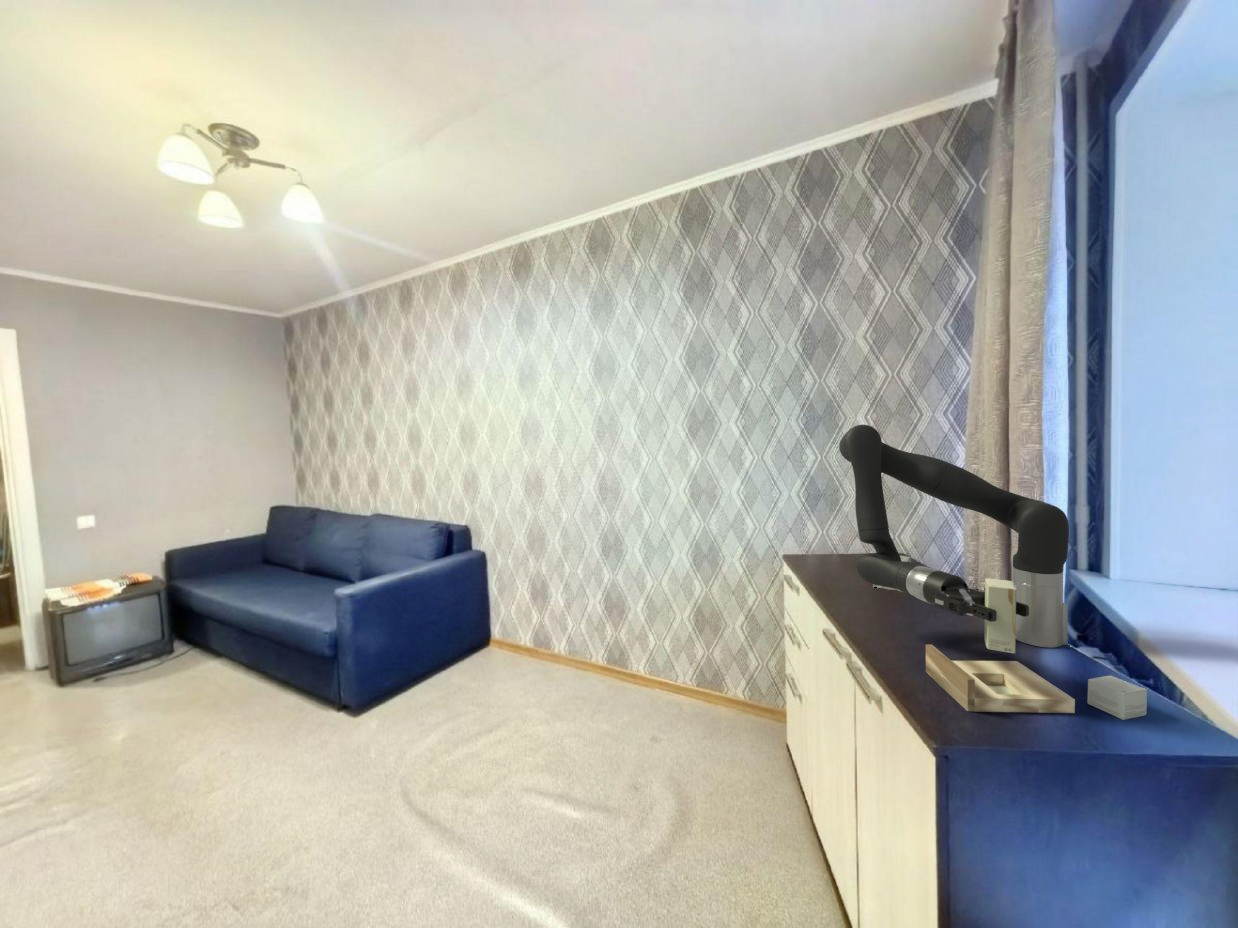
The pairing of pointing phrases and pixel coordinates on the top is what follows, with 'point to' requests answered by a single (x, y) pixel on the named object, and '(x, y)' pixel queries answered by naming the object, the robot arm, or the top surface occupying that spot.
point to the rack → (996, 685)
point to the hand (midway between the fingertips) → (1011, 613)
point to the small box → (1117, 697)
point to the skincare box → (1001, 615)
